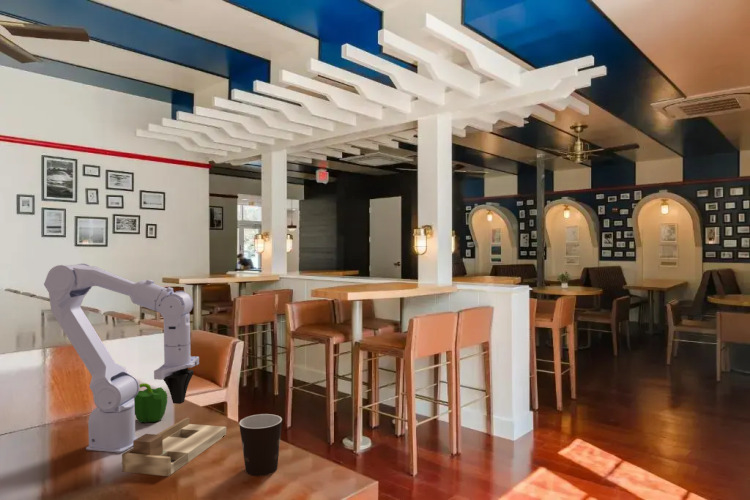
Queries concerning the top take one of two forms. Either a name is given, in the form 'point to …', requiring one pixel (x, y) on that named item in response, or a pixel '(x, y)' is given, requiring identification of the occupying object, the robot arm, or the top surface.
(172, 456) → the birch tray
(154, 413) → the bell pepper
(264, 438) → the black cup
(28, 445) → the top surface
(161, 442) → the walnut block
